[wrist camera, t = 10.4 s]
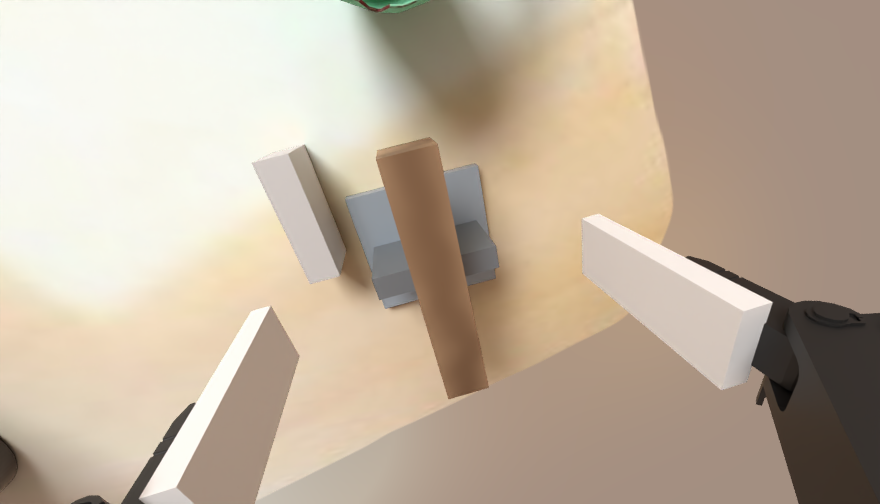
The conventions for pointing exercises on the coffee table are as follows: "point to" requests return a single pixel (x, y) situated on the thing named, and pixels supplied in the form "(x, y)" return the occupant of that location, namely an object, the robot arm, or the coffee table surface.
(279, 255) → the coffee table surface
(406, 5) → the mug
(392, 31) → the coffee table surface
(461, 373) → the plank
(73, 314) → the coffee table surface
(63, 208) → the coffee table surface
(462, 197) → the fulcrum
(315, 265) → the post
